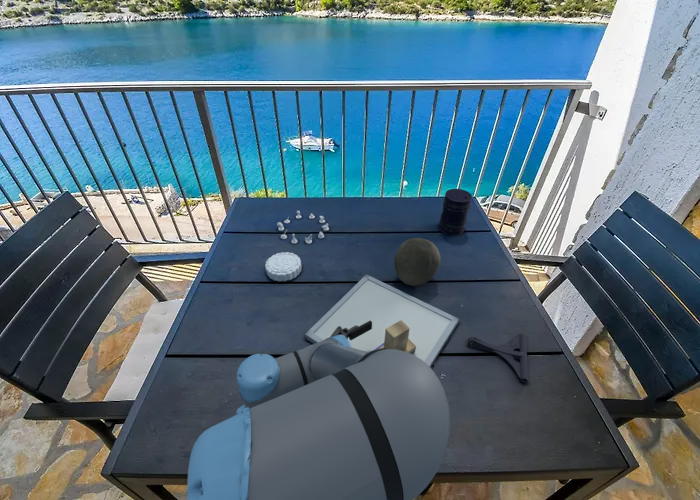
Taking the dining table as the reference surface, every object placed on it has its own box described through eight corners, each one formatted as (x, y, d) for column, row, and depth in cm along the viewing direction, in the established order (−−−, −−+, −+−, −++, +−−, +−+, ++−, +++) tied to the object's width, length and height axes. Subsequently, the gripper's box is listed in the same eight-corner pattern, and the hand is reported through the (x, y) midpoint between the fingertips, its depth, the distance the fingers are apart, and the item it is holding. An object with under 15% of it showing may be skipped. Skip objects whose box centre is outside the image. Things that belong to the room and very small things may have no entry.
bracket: (469, 324, 100) (471, 317, 99) (525, 338, 96) (528, 332, 95) (464, 365, 90) (466, 359, 88) (526, 383, 86) (530, 377, 84)
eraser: (385, 371, 87) (387, 345, 80) (373, 356, 90) (374, 330, 83) (415, 352, 91) (420, 326, 84) (402, 339, 94) (406, 313, 88)
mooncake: (261, 280, 115) (259, 272, 112) (272, 257, 124) (270, 249, 122) (297, 283, 113) (296, 275, 111) (305, 259, 123) (304, 252, 121)
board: (407, 404, 82) (408, 400, 80) (305, 338, 96) (304, 334, 95) (457, 323, 100) (459, 318, 99) (366, 278, 115) (366, 274, 114)
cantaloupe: (431, 299, 108) (439, 262, 99) (387, 288, 112) (391, 251, 102) (438, 270, 118) (446, 235, 109) (398, 261, 122) (402, 226, 113)
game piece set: (269, 239, 132) (268, 230, 130) (291, 212, 147) (290, 204, 145) (317, 248, 128) (316, 240, 126) (335, 219, 143) (334, 211, 141)
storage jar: (434, 229, 138) (440, 195, 128) (446, 218, 143) (452, 186, 134) (457, 238, 133) (465, 204, 123) (468, 227, 138) (477, 194, 129)
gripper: (287, 356, 86) (358, 319, 95) (341, 446, 70) (420, 391, 79) (283, 337, 81) (358, 300, 90) (340, 429, 65) (425, 373, 74)
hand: (387, 343), depth 85 cm, fingers open, 13 cm apart
